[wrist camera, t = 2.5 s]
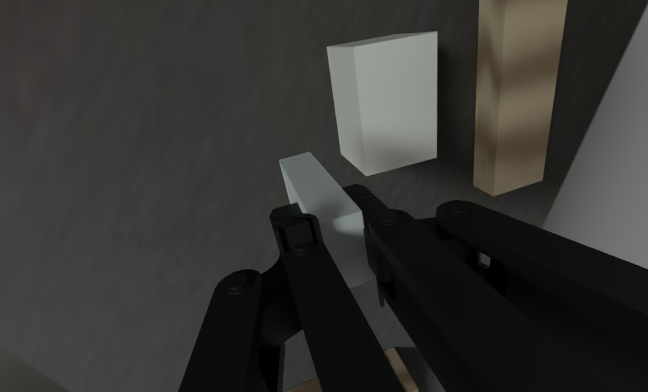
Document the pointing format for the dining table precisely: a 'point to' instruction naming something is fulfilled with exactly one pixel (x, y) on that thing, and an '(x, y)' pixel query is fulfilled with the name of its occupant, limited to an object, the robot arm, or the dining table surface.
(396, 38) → the block
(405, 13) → the dining table surface
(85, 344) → the dining table surface
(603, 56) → the dining table surface
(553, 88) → the batten
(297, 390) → the wooden serving tray
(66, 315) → the dining table surface
